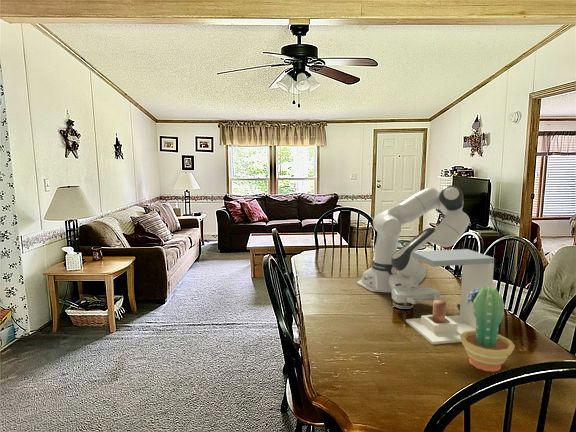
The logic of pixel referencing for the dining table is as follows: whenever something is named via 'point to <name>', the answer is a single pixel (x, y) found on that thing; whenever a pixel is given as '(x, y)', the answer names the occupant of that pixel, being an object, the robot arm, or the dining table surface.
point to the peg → (439, 311)
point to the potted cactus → (486, 331)
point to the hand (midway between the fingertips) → (425, 301)
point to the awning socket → (473, 277)
